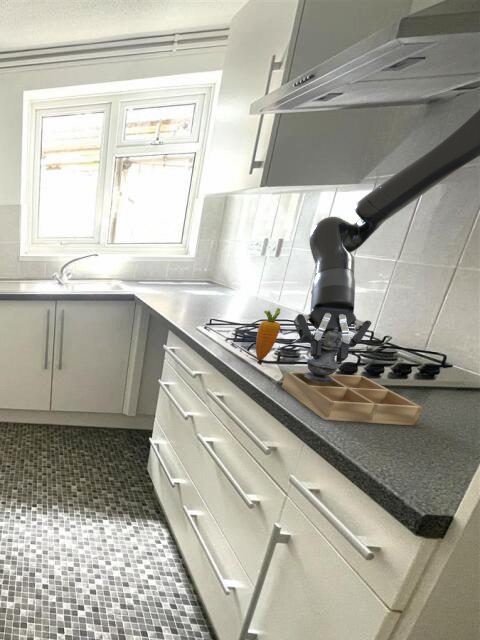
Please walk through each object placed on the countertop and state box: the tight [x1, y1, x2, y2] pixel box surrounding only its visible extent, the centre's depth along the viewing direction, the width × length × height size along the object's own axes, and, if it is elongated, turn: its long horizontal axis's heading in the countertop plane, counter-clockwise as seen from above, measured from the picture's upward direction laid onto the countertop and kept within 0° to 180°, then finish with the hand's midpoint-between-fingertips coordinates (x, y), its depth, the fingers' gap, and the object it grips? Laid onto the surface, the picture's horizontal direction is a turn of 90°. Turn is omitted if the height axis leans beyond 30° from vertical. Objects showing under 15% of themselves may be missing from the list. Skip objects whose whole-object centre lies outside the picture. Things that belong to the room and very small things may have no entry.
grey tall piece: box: [304, 327, 342, 382], centre depth 92 cm, size 6×6×12 cm
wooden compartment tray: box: [281, 371, 424, 426], centre depth 92 cm, size 16×16×4 cm
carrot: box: [255, 307, 281, 362], centre depth 115 cm, size 5×5×15 cm
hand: (328, 359), depth 91 cm, fingers closed on grey tall piece, 3 cm apart
